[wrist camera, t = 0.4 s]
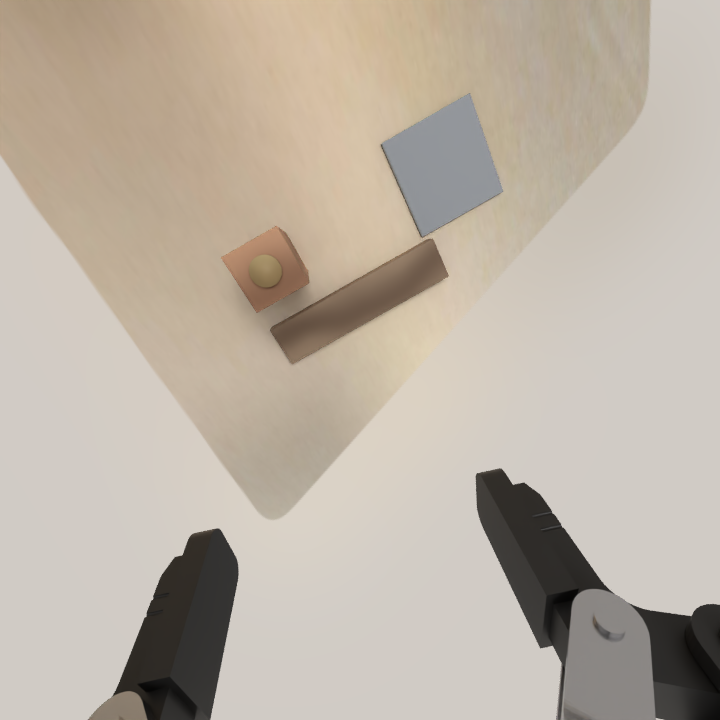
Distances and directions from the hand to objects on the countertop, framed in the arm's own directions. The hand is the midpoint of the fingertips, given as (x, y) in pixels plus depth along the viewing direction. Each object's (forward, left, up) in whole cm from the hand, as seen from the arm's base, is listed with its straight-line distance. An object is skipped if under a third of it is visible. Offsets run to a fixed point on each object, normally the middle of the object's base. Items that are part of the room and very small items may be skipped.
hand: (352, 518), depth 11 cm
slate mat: (-7, +18, -27) cm, 33 cm away
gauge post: (-7, 0, -27) cm, 28 cm away
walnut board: (0, +5, -27) cm, 28 cm away
